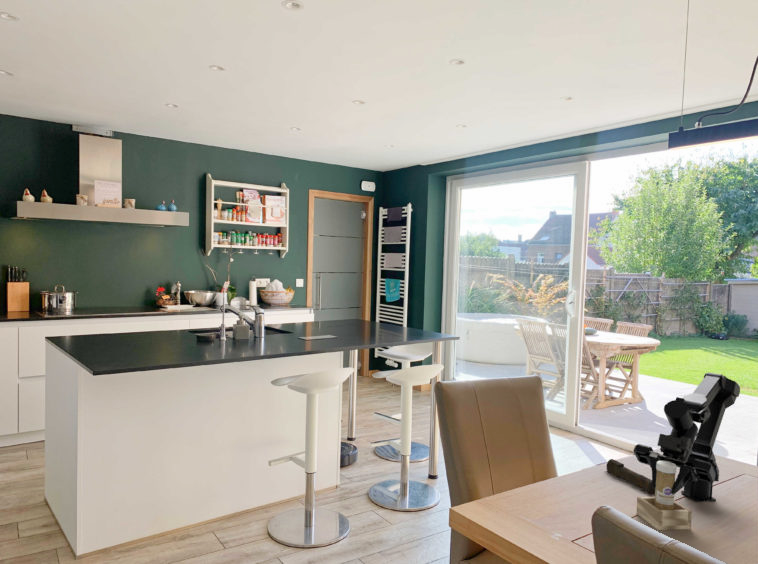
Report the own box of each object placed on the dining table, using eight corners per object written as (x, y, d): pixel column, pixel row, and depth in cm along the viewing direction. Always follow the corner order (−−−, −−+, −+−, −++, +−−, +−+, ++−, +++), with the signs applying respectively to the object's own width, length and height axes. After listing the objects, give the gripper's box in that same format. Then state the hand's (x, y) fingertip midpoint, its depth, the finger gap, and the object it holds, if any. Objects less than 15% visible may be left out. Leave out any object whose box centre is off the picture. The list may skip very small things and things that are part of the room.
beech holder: (667, 513, 147) (668, 496, 147) (690, 529, 138) (692, 511, 138) (636, 513, 146) (637, 497, 146) (658, 529, 137) (659, 512, 137)
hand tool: (659, 494, 161) (660, 478, 161) (648, 495, 159) (649, 479, 159) (613, 471, 179) (614, 456, 179) (603, 471, 177) (604, 457, 177)
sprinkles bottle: (660, 518, 140) (663, 466, 139) (650, 510, 144) (652, 459, 144) (677, 518, 140) (680, 466, 140) (666, 510, 145) (669, 459, 144)
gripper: (638, 414, 151) (617, 462, 144) (714, 431, 137) (695, 485, 130) (648, 437, 157) (629, 485, 150) (722, 455, 143) (705, 509, 136)
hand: (662, 490), depth 141 cm, fingers closed on sprinkles bottle, 4 cm apart
